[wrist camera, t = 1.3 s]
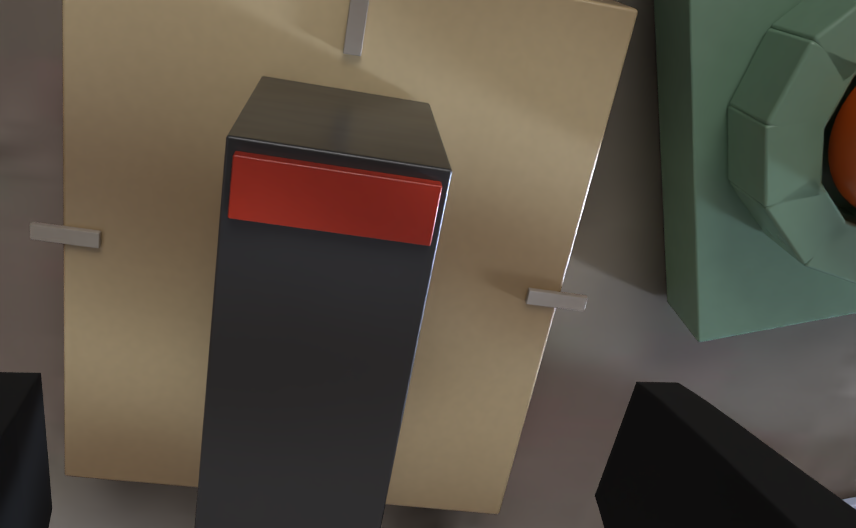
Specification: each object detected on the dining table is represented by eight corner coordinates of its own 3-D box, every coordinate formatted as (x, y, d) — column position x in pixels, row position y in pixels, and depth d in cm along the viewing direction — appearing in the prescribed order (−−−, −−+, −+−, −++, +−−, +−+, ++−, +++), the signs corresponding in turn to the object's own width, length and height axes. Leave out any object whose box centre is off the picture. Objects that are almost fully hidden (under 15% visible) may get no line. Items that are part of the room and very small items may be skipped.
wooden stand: (505, 457, 23) (522, 522, 21) (72, 414, 21) (35, 478, 19) (629, 1, 18) (670, 16, 16) (72, -105, 16) (21, -107, 14)
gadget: (371, 424, 19) (374, 574, 15) (229, 409, 19) (190, 560, 14) (429, 102, 16) (454, 175, 12) (261, 74, 16) (222, 139, 11)
